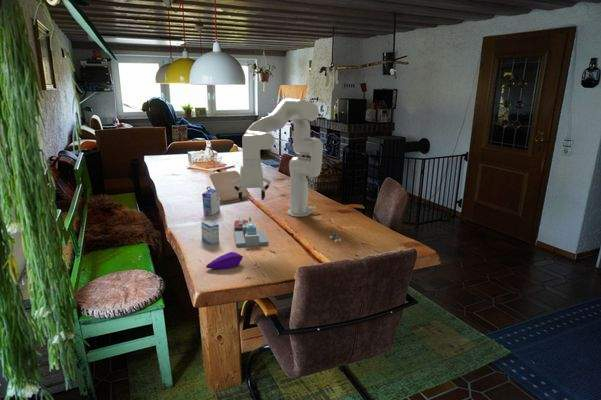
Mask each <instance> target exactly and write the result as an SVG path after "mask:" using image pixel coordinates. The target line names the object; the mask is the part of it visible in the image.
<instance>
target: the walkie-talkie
mask: <svg viewBox="0 0 601 400" xmlns="http://www.w3.org/2000/svg"><path fill="white" fill-rule="evenodd" d="M246 223H253V221H252V218H251V217H248V220H247V219H244V218H239V219H236V220H235V221H234V225H233V226H234V228H233V230H234V231H243V225H246ZM234 231H233V232H234Z"/></svg>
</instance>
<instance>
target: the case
mask: <svg viewBox="0 0 601 400" xmlns="http://www.w3.org/2000/svg"><path fill="white" fill-rule="evenodd" d="M209 178H210V181H211V183H212V185H213V187H214V189H216V190H219V202H220V204H221V205H223V204H229V203H236V202H241V201H240V199H239V192H238V191H237V190H236V189H235V188H234V186H233V185H232V182H233V181H235V180H237V179H239V178H240V172H238V171H237V170H226V171H220V172H219V171H218V172H213V173H210V174H209ZM236 186H237V187H238V188H239V187H240V186H241V185H240V182H239V183H237V184H236ZM249 195H250V192H249V190H248V188H244V189H243V190H242V201H245V200H249Z"/></svg>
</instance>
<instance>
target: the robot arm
mask: <svg viewBox="0 0 601 400" xmlns="http://www.w3.org/2000/svg"><path fill="white" fill-rule="evenodd" d="M319 115H320V110H319V106H318V105H317V104H316V103H314V102H311V101H309V100H305V99H302V98H283V99H282V100H280V102H279V103H278V104H277V105H276V107H275V108H274V109H273V110H272V111H271V113H270V114H269V115H267V116H264V117H262V118H261V119H259V120H256V121H254V122H253V123H252V124H251V125H250V126H249V127H248V128H247V129H246V131H245V132H244V134H243V135H242V137H241V139H242V141H241V143H242V145H241V146H242V164H241V165H240V171H239V174H240V178H239V179H237V180H235V181H233V182H232V185H233V186H234V188H235V189H236V190H237V191H238V192H239V199H240V201H239V202H243V200H242V190H243V189H244V188H247V189H261V190H260V192H261V193H260V195H261V200H262V201H265V198H266V191H267V190H268V189H269V188H270V185H271V184H272V181H271V180H270V179H268V178H266V177H264V172H263V166H262V163H264V159H261V150H270V149H272V148H273V146H274V145H275V143H276V142H275V141H276V139H275V137H274V135H273V134H272V133H271V132H274V131H279V130H281V129H284V127H285V126H286V124H287V123H288V122H289V121H290V120H291V123H292V124H293V143H292V144H293V145H292V147H293V150H292V151H293V152H294V153H295V154H298V155H304V156H310V157H303V156H294V157H292V158H291V159H290V160H289V161H288V162H289V163H288V170H289V174H290V177H289V178H290V191H289V192H290V193H289V194H290V195H289V196H290V197H289V198H290V199H289V200H290V201H289V209H287V212H286V213H287V215H289V216H290V217H297V218H300V217H301V218H302V217H308V216H309V215H310V214H311V211H316V209H317V207H316V206H312V205H308V198H309V197H308V196H309V195H308V194H309V182H308V178H307V177H312V178H317V177H318V176H320V174H321V171H322V164H323V163H322V162H323V152H324V146H323V142H322V139H320V138H319V137H312V136H311V125H310V123H309V121H310V122H314V121H316V120H317V119H318V118H319ZM239 182H240V185H241V186H240V187H239V188H238V187H237V186H236V184H237V183H239ZM264 182H265V183H266V184H265V185H264Z"/></svg>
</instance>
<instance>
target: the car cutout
mask: <svg viewBox="0 0 601 400" xmlns="http://www.w3.org/2000/svg"><path fill="white" fill-rule="evenodd" d="M329 239H333V240H334V243H337V242H341V238H340V237H339V235H338V233H337V232H336V231H335V230H334V231H333V232H331V235H330V236H329Z"/></svg>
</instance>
